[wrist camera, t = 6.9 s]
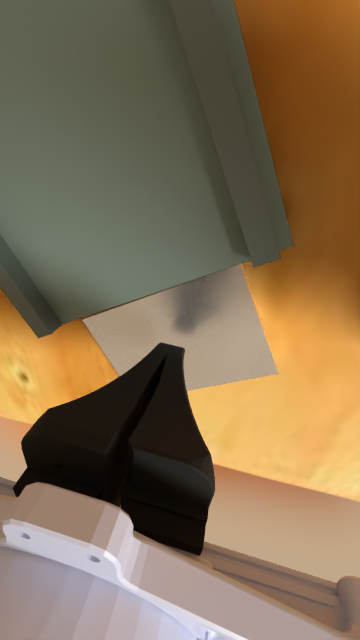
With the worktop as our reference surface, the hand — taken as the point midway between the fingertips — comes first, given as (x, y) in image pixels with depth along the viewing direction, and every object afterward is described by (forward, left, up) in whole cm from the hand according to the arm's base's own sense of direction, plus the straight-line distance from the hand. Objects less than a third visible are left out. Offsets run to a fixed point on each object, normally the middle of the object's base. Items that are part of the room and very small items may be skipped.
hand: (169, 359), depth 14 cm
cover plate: (0, 0, -4) cm, 4 cm away
